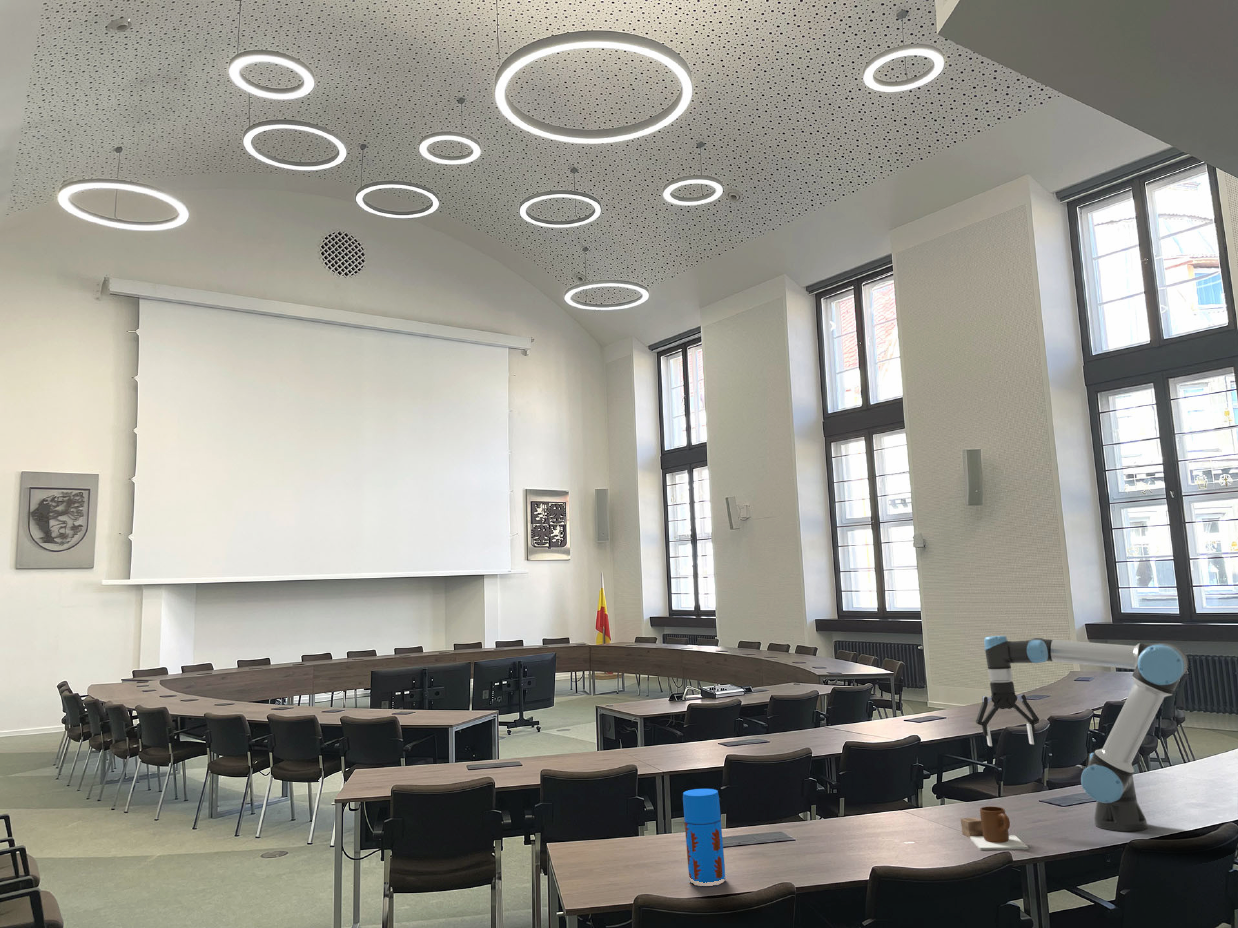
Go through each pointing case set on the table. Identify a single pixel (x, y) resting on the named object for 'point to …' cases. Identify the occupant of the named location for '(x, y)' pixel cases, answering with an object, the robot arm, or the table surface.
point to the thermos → (703, 835)
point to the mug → (994, 824)
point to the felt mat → (1009, 845)
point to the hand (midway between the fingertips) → (1010, 744)
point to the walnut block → (971, 827)
